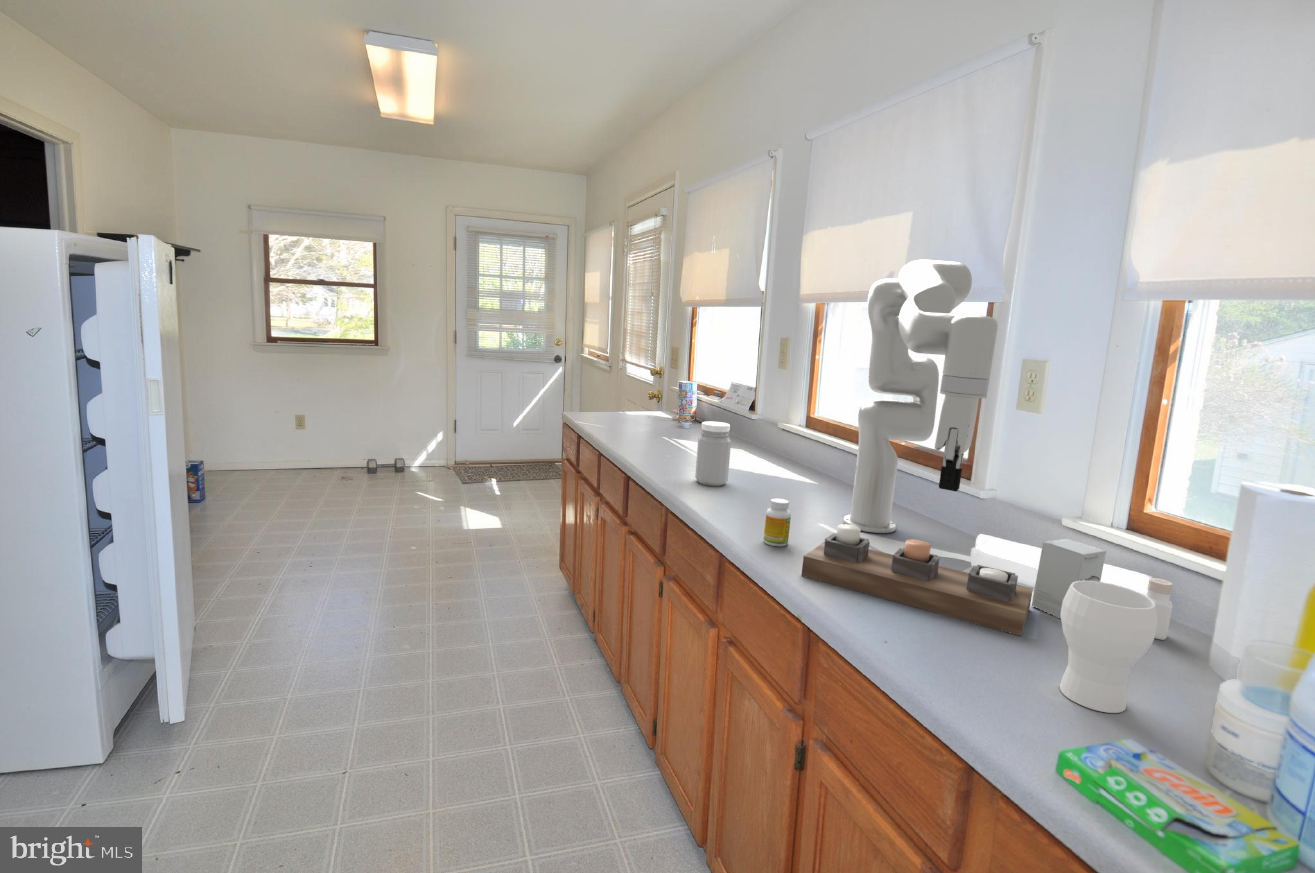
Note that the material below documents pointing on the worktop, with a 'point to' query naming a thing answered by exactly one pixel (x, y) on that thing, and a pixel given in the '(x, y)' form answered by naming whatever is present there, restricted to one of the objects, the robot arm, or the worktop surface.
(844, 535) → the off-white plunger
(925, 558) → the terracotta plunger
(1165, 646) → the worktop surface
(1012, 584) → the button board
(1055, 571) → the supplement box
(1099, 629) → the cup
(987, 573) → the off-white plunger
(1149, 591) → the pepper shaker
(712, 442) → the jar
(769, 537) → the supplement bottle
